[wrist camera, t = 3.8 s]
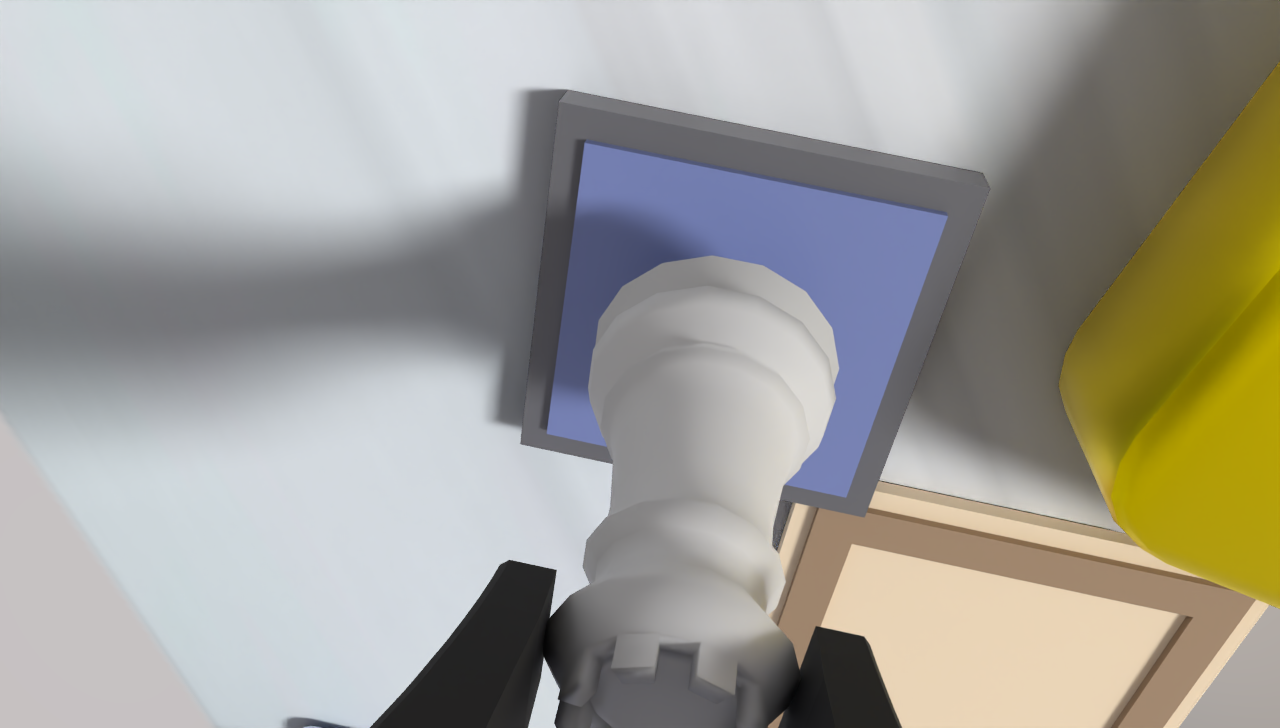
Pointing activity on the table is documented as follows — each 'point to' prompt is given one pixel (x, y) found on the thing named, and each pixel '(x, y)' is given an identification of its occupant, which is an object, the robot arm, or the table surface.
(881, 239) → the ink pad
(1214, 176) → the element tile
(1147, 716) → the mat
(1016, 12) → the table surface
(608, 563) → the rook chess piece
